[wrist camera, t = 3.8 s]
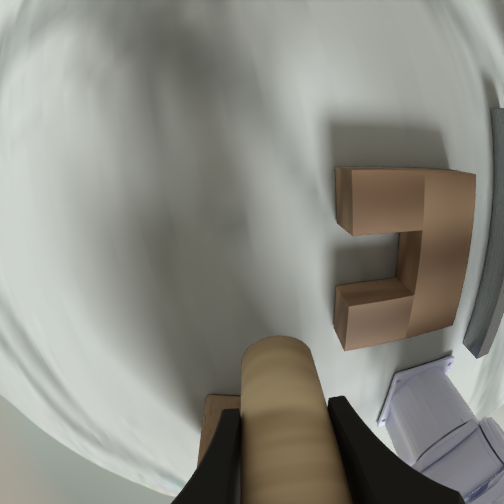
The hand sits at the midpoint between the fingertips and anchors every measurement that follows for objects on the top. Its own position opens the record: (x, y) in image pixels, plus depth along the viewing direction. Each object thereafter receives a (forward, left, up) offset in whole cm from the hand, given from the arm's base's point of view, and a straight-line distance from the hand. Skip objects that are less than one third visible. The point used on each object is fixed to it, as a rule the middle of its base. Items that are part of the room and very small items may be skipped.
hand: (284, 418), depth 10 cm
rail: (+3, -22, -10) cm, 25 cm away
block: (+3, -10, -10) cm, 15 cm away
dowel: (0, 0, -4) cm, 4 cm away
